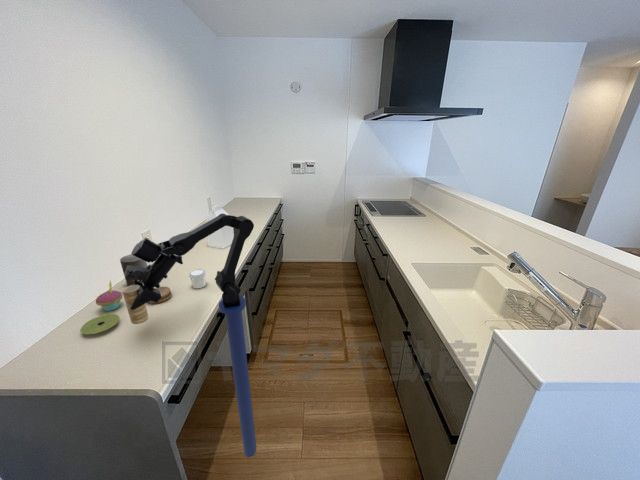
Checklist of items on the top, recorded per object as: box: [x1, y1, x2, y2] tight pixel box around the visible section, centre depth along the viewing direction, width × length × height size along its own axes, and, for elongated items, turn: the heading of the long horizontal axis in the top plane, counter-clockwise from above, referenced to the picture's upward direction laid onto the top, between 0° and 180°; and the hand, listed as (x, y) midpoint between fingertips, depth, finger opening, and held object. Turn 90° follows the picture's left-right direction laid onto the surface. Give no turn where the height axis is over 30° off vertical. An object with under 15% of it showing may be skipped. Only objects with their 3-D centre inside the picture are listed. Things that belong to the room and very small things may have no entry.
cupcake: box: [95, 280, 123, 312], centre depth 106 cm, size 9×8×12 cm
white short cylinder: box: [188, 268, 207, 289], centre depth 124 cm, size 7×7×7 cm
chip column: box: [121, 285, 150, 325], centre depth 91 cm, size 5×5×13 cm
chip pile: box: [147, 286, 173, 305], centre depth 114 cm, size 10×10×3 cm
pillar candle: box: [119, 254, 148, 287], centre depth 124 cm, size 10×10×15 cm
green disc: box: [80, 313, 120, 335], centre depth 97 cm, size 11×11×2 cm
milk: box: [205, 204, 234, 250], centre depth 169 cm, size 12×12×26 cm
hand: (130, 305), depth 90 cm, fingers closed on chip column, 5 cm apart
